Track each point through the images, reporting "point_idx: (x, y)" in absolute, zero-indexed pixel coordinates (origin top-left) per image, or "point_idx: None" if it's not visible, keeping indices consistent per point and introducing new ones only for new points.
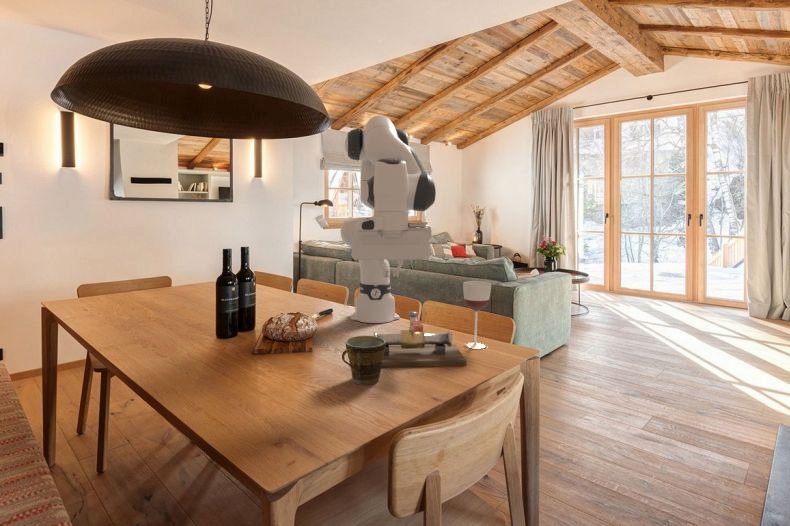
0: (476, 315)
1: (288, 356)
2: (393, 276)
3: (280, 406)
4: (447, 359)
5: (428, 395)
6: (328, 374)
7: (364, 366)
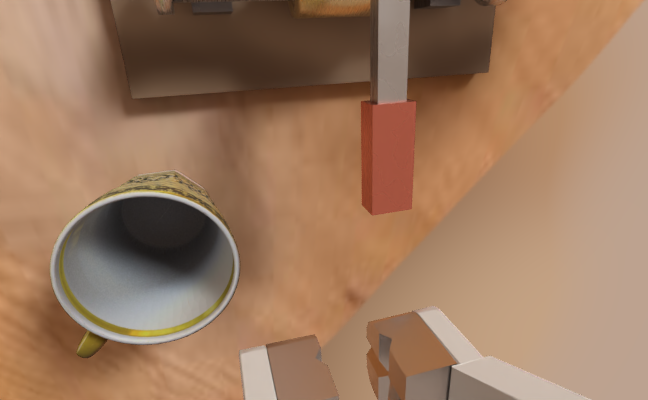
0: None
1: None
2: (374, 381)
3: None
4: (436, 66)
5: (339, 283)
6: (9, 170)
7: (166, 286)
